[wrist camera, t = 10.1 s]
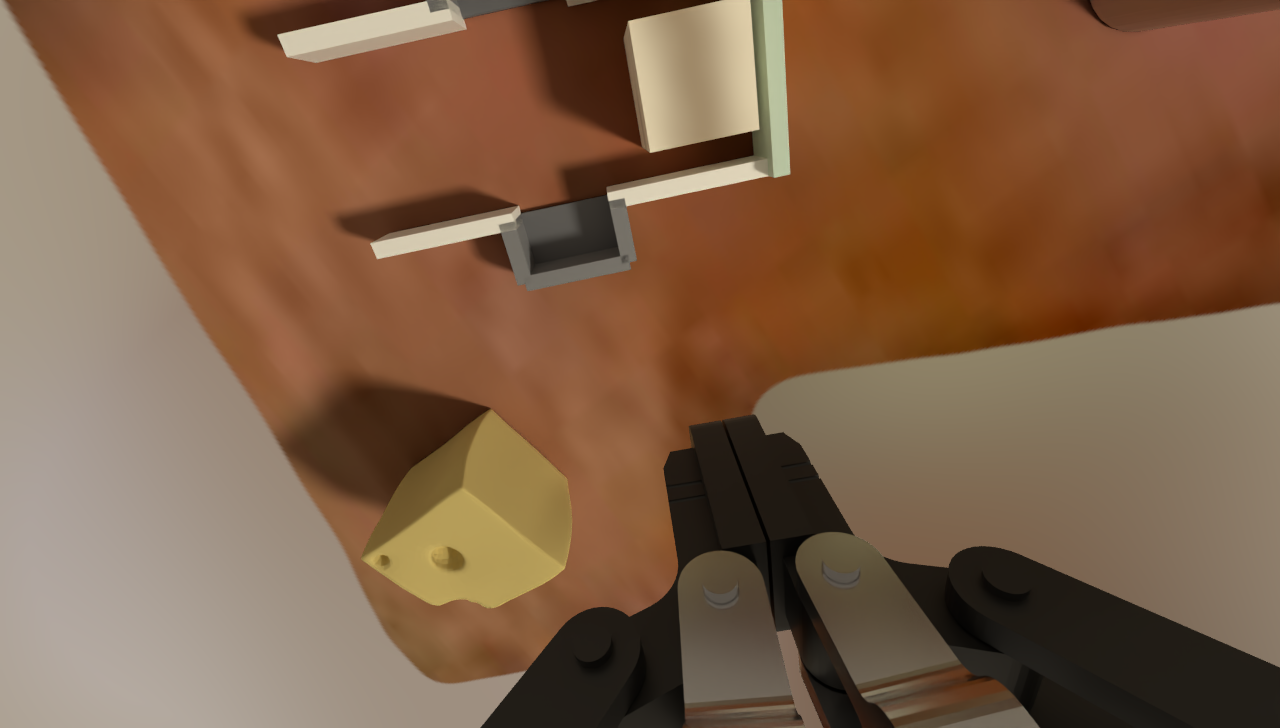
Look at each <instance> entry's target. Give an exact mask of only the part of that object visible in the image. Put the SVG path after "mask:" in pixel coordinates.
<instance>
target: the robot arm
mask: <svg viewBox="0 0 1280 728" xmlns="http://www.w3.org/2000/svg"><path fill="white" fill-rule="evenodd" d="M1090 2H1091V5H1092V8H1093V9H1094V11H1095V12H1096V14H1097V15H1098V17H1099V18H1100V19H1101V20H1102V21H1103V22H1105V23H1106V24H1107V25H1109V26H1110V27H1112V28H1115V29H1117V30H1120V31H1123V32H1140V31H1146V30H1153V29H1159V28H1165V27H1171V26H1177V25H1184V24H1190V23H1196V22H1202V21H1210V20H1217V19H1223V18H1229V17H1235V16H1242V15H1248V14H1254V13H1260V12H1266V11H1273V10H1279V9H1280V0H1090ZM689 433H690V440H691V446H692V448H690V449H684V450H678V451H673V452H670V454H669V456H668V459H667V461H666V464H665V466H664V468H663V469H664V475H665V481H666V487H667V494H668V500H669V507H670V513H671V519H672V526H673V532H674V538H675V545H676V551H677V557H678V573H677V576H676V580H675V582H674V584H673V586H672V587H671V589H670V590H669V591H668V593H667V594H666V595H665V596H664V597H663V598H662V599H660V600H659V601H658V602H657V603H655V604H653V605H652V606H650V607H648V608H646V609H644V610H642V611H640V612H638V613H636V614H634V615H632V616H630V617H629V616H628V615H626V614H625V613H623V612H622V611H619V610H617V609H614V608H609V607H597V608H592V609H588V610H585V611H583V612H581V613H579V614H577V615H576V616H574V617H572V618H571V619H570V620H569V621H568V622H566V623H565V624H564V626H563V627H562V628H561V629H560V630H559V631H558V633H557V634H556V635H555V636H554V637H553V639H552V640H551V641H550V642H549V644H548V645H547V646H546V647H545V649H544V650H543V651H542V652H541V654H540V655H539V656H538V657H537V659H536V660H535V661H534V662H533V663H532V665H531V666H530V667H529V668H528V670H527V671H526V672H525V673H524V675H523V676H522V677H521V679H520V680H519V681H518V682H517V683H516V685H515V686H514V687H513V688H512V690H511V691H510V692H509V693H508V695H507V696H506V697H505V698H504V699H503V701H502V702H501V703H500V705H499V706H498V707H497V708H496V709H495V711H494V712H493V713H492V714H491V716H490V717H489V718H488V719H487V721H486V722H485V723H484V724H483V725H482V727H481V728H805V725H804V722H803V720H802V718H801V716H800V715H799V714H798V713H797V711H796V708H795V705H794V701H793V697H792V693H791V689H790V685H789V681H788V677H787V673H786V669H785V665H784V661H783V657H782V652H781V649H780V644H779V640H778V636H777V631H783V630H790V629H791V631H792V634H793V637H794V640H795V643H796V646H797V648H798V659H799V660H798V662H799V670H800V673H801V677H802V679H803V682H804V684H805V686H806V689H807V691H808V693H809V696H810V698H811V700H812V703H813V705H814V707H815V710H816V712H817V715H818V717H819V719H820V722H821V724H822V726H823V728H1280V668H1279V667H1277V666H1275V665H1273V664H1270V663H1268V662H1266V661H1264V660H1261V659H1259V658H1257V657H1254V656H1252V655H1250V654H1247V653H1245V652H1243V651H1241V650H1238V649H1236V648H1233V647H1231V646H1229V645H1227V644H1224V643H1222V642H1220V641H1217V640H1215V639H1213V638H1211V637H1208V636H1206V635H1204V634H1201V633H1199V632H1197V631H1194V630H1192V629H1190V628H1188V627H1185V626H1183V625H1181V624H1178V623H1176V622H1174V621H1171V620H1169V619H1167V618H1165V617H1162V616H1160V615H1158V614H1155V613H1153V612H1151V611H1148V610H1146V609H1144V608H1142V607H1139V606H1137V605H1135V604H1132V603H1130V602H1128V601H1125V600H1123V599H1121V598H1118V597H1116V596H1114V595H1112V594H1109V593H1107V592H1105V591H1102V590H1100V589H1098V588H1095V587H1093V586H1091V585H1088V584H1086V583H1084V582H1082V581H1079V580H1077V579H1075V578H1072V577H1070V576H1068V575H1065V574H1063V573H1061V572H1059V571H1056V570H1054V569H1052V568H1050V567H1047V566H1045V565H1043V564H1040V563H1038V562H1036V561H1033V560H1031V559H1029V558H1026V557H1024V556H1022V555H1020V554H1017V553H1014V552H1012V551H1008V550H1005V549H1001V548H996V547H986V546H979V547H971V548H967V549H965V550H962V551H960V552H958V553H957V554H956V555H955V556H954V557H953V558H952V559H951V562H950V564H949V568H944V567H935V566H926V565H917V564H909V563H902V562H898V561H894V560H891V559H888V558H885V557H883V556H882V555H881V554H880V553H879V551H878V550H877V549H876V548H874V547H873V546H872V545H870V544H869V543H868V542H866V541H865V540H863V539H860V538H858V537H856V536H855V535H854V534H853V533H852V531H851V529H850V528H849V526H848V524H847V523H846V521H845V519H844V518H843V516H842V514H841V512H840V511H839V509H838V508H837V506H836V504H835V502H834V501H833V499H832V497H831V496H830V494H829V492H828V490H827V489H826V487H825V485H824V484H823V482H822V480H821V479H819V476H818V473H817V472H816V470H815V468H814V467H813V465H811V463H810V460H809V458H808V456H807V455H806V453H805V451H804V450H803V448H802V446H801V445H800V444H799V443H797V442H796V441H794V440H793V439H792V438H790V437H789V436H787V435H786V434H785V433H777V434H771V435H765V433H764V431H763V429H762V427H761V425H760V423H759V421H758V419H757V417H756V415H748V416H742V417H737V418H731V419H725V420H722V422H721V421H714V422H709V423H703V424H697V425H691V426H689Z"/></svg>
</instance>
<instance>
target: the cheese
mask: <svg viewBox="0 0 1280 728" xmlns="http://www.w3.org/2000/svg"><path fill="white" fill-rule="evenodd" d="M571 534H572V512H571V503H570V496H569V490H568V480H567V478H566V477H565V476H564V475H563V474H562V473H560V472H559V471H558V470H557V469H556V468H555V467H554V466H553V465H552V464H551V463H550V462H549V461H548V460H547V459H546V458H545V457H544V456H542V455H541V454H540V453H539V452H538V451H537V450H536V449H535V448H534V447H533V446H532V445H530V444H529V443H528V442H527V441H526V440H525V439H524V438H522V437H521V436H520V435H519V434H518V433H517V432H516V431H514V430H513V429H512V428H511V427H510V426H509V425H508V424H507V423H506V422H504V421H503V420H502V419H501V418H500V417H499V416H498V415H497V414H496V413H495V412H494V411H493V410H492V409H489V410H488V411H486V412H485V413H483V414H482V415H480V416H479V417H478V418H476V419H475V420H474V421H472V422H471V423H470V424H468V425H467V426H466V427H465V428H464V429H462V430H461V431H460V432H459V433H457V434H456V435H455V436H454V437H453V438H451V439H450V440H449V441H448V442H447V443H445V444H444V445H443V446H441V447H440V448H439V449H437V450H436V451H435V452H433V453H432V454H431V455H429V456H428V457H426V458H425V459H423V460H422V461H421V462H419V463H418V464H416V465H415V466H413V467H412V468H411V469H410V470H409V471H408V473H407V474H406V476H405V477H404V478H403V480H402V481H401V483H400V484H399V486H398V487H397V489H396V491H395V492H394V494H393V496H392V498H391V500H390V502H389V503H388V505H387V507H386V509H385V511H384V513H383V515H382V517H381V519H380V521H379V522H378V524H377V526H376V527H375V529H374V531H373V533H372V534H371V537H370V539H369V541H368V543H367V545H366V547H365V550H364V552H363V554H362V557H361V559H362V560H363V561H364V562H365V563H367V564H369V565H370V566H371V567H373V568H374V569H375V570H377V571H378V572H380V573H381V574H383V575H384V576H386V577H387V578H389V579H390V580H391V581H393V582H394V583H396V584H397V585H398V586H400V587H401V588H403V589H405V590H406V591H408V592H410V593H412V594H413V595H415V596H417V597H418V598H420V599H422V600H423V601H425V602H427V603H429V604H432V605H438V606H439V605H442V604H445V603H447V602H449V601H452V600H457V599H467V600H469V601H470V602H477V603H479V604H480V605H482V606H483V607H486V608H495V607H497V606H500V605H502V604H504V603H506V602H507V601H509V600H511V599H513V598H515V597H517V596H519V595H522V594H524V593H526V592H528V591H530V590H532V589H534V588H536V587H538V586H540V585H542V584H544V583H545V582H547V581H549V580H550V579H552V578H553V577H555V576H556V575H557V574H558V573H560V572H561V571H562V570H563V569H564V568H565V565H566V561H567V557H568V553H569V547H570V541H571Z"/></svg>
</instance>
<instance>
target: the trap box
mask: <svg viewBox="0 0 1280 728" xmlns="http://www.w3.org/2000/svg"><path fill="white" fill-rule="evenodd" d="M542 1H547V0H427V1H425V2H421V3H416V4H412V5H407V6H403V7H398V8H394V9H389V10H385V11H381V12H376V13H372V14H367V15H363V16H358V17H354V18H349V19H345V20H340V21H336V22H331V23H327V24H323V25H318V26H314V27H309V28H305V29H300V30H296V31H291V32H287V33H282V34H278V35H277V36H278V38H279V40H280V42H281V45H282V47H283V49H284V51H285V54H286V56H287V57H289V58H295V59H300V60H305V61H310V62H315V63H318V62H322V61H327V60H331V59H336V58H340V57H345V56H349V55H354V54H358V53H363V52H367V51H372V50H376V49H381V48H385V47H390V46H394V45H399V44H403V43H408V42H412V41H417V40H421V39H426V38H430V37H435V36H439V35H444V34H448V33H453V32H457V31H462V30H466V29H467V28H466V25H465V22H464V19H466V18H471V17H475V16H480V15H484V14H489V13H493V12H498V11H502V10H507V9H511V8H516V7H520V6H525V5H529V4H533V3H538V2H542ZM566 1H567V5H568V7H570V6H574V5H579V4H583V3H588V2H592V1H597V0H566ZM750 4H751V18H752V32H753V46H754V60H755V74H756V88H757V102H758V116H759V130H755V131H752V139H753V152H754V155H753V156H749V157H744V158H739V159H735V160H730V161H725V162H720V163H716V164H711V165H706V166H702V167H697V168H692V169H688V170H683V171H678V172H674V173H669V174H664V175H660V176H655V177H650V178H646V179H641V180H636V181H632V182H627V183H622V184H617V185H613V186H608V187H606V188H607V195H604V196H599V197H594V198H590V199H585V200H580V201H576V202H571V203H566V204H561V205H557V206H552V207H547V208H543V209H538V210H533V211H529V212H524V213H521V211H520V208H519V206H514V207H510V208H505V209H500V210H496V211H491V212H486V213H482V214H477V215H472V216H468V217H463V218H458V219H454V220H449V221H444V222H440V223H435V224H430V225H426V226H421V227H416V228H412V229H407V230H402V231H397V232H393V233H389V234H387V235H385V236H383V237H381V238H379V239H378V240H376V241H374V242H372V243H370V244H371V246H372V248H373V250H374V253H375V255H376V257H377V259H380V258H385V257H389V256H394V255H399V254H403V253H408V252H413V251H418V250H422V249H427V248H432V247H436V246H441V245H446V244H451V243H455V242H460V241H465V240H469V239H474V238H479V237H483V236H488V235H493V234H498V233H501V234H502V237H503V241H504V244H505V247H506V250H507V253H508V256H509V259H510V262H511V266H512V269H513V272H514V275H515V278H516V281H517V284H518V285H523V284H525V285H526V288H527V291H531V290H535V289H540V288H545V287H550V286H555V285H559V284H564V283H569V282H574V281H578V280H583V279H588V278H593V277H597V276H602V275H607V274H612V273H617V272H621V271H626V270H631V267H630V262H633V261H637V259H636V253H635V248H634V243H633V238H632V233H631V228H630V223H629V218H628V213H627V208H626V206H629V205H634V204H639V203H643V202H648V201H653V200H658V199H662V198H667V197H672V196H676V195H681V194H686V193H691V192H695V191H700V190H705V189H709V188H714V187H719V186H723V185H728V184H733V183H738V182H742V181H747V180H752V179H756V178H761V177H766V176H770V177H773V178H774V177H779V176H784V175H789V174H790V159H789V138H788V116H787V95H786V74H785V53H784V32H783V11H782V0H750Z"/></svg>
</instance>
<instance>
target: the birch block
mask: <svg viewBox="0 0 1280 728" xmlns="http://www.w3.org/2000/svg"><path fill="white" fill-rule="evenodd" d="M623 40H624V46H625V52H626V57H627V63H628V69H629V75H630V81H631V86H632V92H633V98H634V104H635V109H636V115H637V121H638V127H639V132H640V138H641V144H642V147H643V148H644V149H645V150H647V151H648V152H650V153H652V152H657V151H661V150H666V149H671V148H675V147H680V146H685V145H689V144H694V143H699V142H703V141H708V140H713V139H717V138H722V137H727V136H731V135H736V134H741V133H746V132H750V131H755V130H759V116H758V102H757V88H756V74H755V60H754V46H753V32H752V18H751V4H750V0H722V1H717V2H713V3H708V4H704V5H699V6H695V7H690V8H685V9H681V10H676V11H672V12H667V13H663V14H658V15H654V16H649V17H645V18H640V19H636V20H631V21H628V24H627V27H626V31H625V35H624V38H623Z"/></svg>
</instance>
